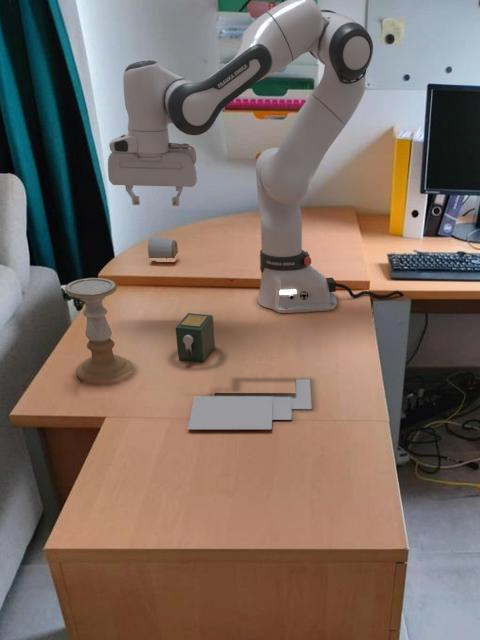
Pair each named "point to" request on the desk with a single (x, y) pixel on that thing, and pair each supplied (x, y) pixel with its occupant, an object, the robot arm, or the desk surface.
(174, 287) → the desk surface
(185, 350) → the sharpener
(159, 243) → the grey cylinder
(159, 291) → the desk surface
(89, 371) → the candle holder
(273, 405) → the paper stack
